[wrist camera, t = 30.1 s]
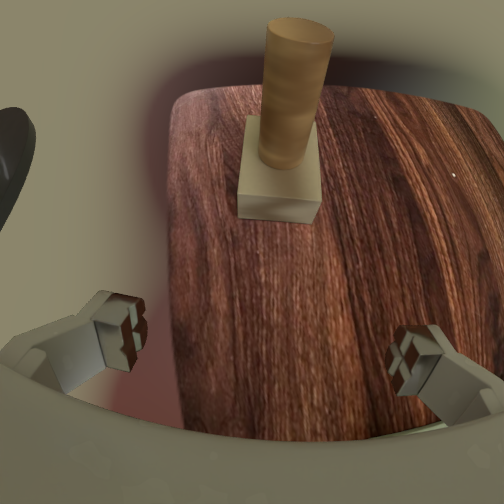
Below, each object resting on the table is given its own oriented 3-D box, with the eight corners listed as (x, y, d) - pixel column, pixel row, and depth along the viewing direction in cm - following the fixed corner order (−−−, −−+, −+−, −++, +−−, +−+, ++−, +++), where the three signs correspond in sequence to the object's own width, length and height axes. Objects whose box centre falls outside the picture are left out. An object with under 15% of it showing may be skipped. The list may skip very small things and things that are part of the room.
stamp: (237, 218, 20) (234, 57, 8) (246, 142, 22) (250, 2, 11) (311, 224, 20) (373, 76, 8) (308, 147, 22) (343, 14, 11)
